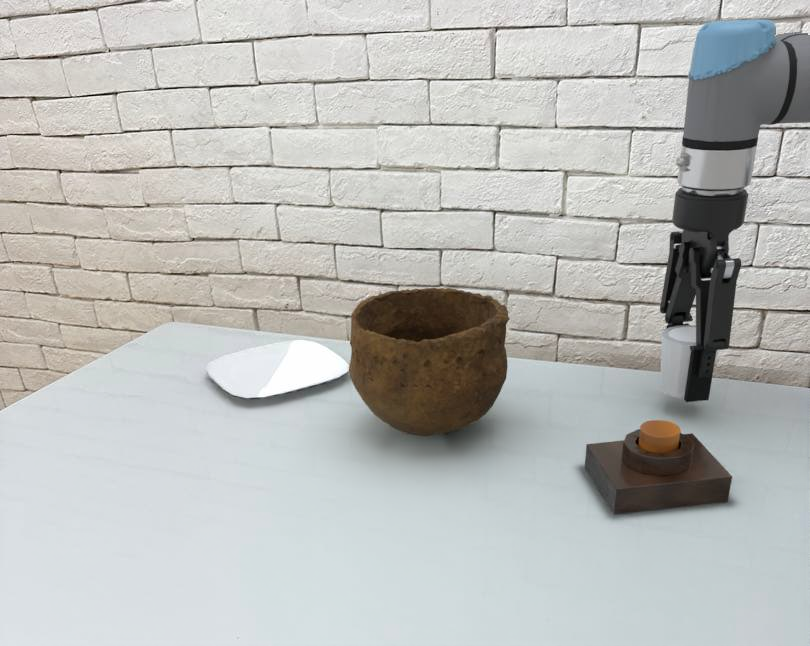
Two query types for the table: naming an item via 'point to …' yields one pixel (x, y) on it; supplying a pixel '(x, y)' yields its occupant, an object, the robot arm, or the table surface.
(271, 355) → the plate
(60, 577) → the table surface
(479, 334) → the bowl
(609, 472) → the brown button base
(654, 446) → the orange push button
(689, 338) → the white cup
